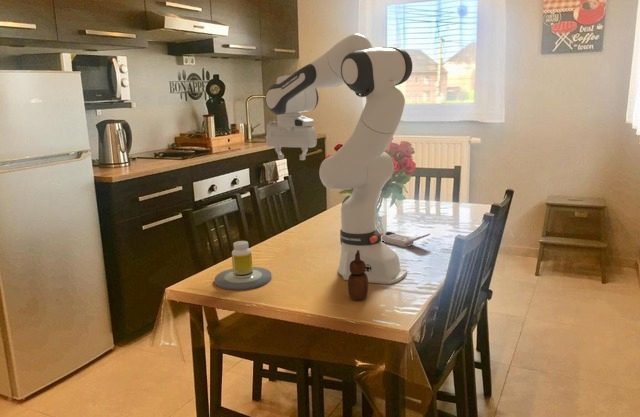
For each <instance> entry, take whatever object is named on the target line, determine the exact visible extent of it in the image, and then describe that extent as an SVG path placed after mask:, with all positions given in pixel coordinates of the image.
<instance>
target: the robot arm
mask: <svg viewBox="0 0 640 417" xmlns="http://www.w3.org/2000/svg"><path fill="white" fill-rule="evenodd" d="M412 71H413V61H412V58H411V56H410V54H409V53H408V52H407V50H404V49H403V48H399V47H389V46H388V47H386V46H382V47H373V45H372V43H371V42H370V39H368V38H367V37H366V36H364V35H362V34H360V33H353V34H350V35H348V36H346V37H345V38H343V39H341V40H340V41H338V42H336V44H333V46H332V47H331V48H329V50H327V51H326V52H325V53H323V54H322V55H321V56H319V57H317V59H314V60H313V61H312V62H310V63H307V65H305V66H303V67H301V68H300V69H298V70H297V71H295V72H293V73H287V74H282V75H280V76H278V77H277V79H276V83H272V84H271V86H269V88H268V90H267V91H266V93H265V96H264V98H265V105H266V106H267V108H268V110H270V112H272V114H274V115H276V117H277V119H276V120H277V121H275V120H274V121H272V120H270V121H269V122H268V123H267V124H266V135H265V136H266V139H265V143H266V146H267V147H271V148H274V152H275V153H276V154H277V158H278V160H284V159H285V154H284V153H283V152H282V151H281V150H282V148H300V149H301V151H302V153H301V154H299V161H305V160H307V159H306V156H307V153H308V151H309V148H310V149H312V148H315V147H316V146H317V145H318V144H317V143H318V138H317V137H318V136H317V131H316V128H315V127H314V125H315V119H313V118H309V117H307V116H305V115H302V114H303V113H307V112H312V111H315V109H316V108H317V106H318V103H319V99H320V98H319V97H320V96H319V93H318V90H317V89H321V88H333V87H334V88H335V87H339V86H342V85H346V87H347V88H349V90H351V91H353V92H354V93H355V95H356V96H357V97H359V98H366V100H365V105H364V107H363V109H362V112H361V114H360V116H359V119H358V121H357V124H356V126H355V128H354V130H353V132H352V134H351V135H350V136H349V138H348V139H347V140H346V142H345V143H344V144H343V145H341V147H339V149H338V150H337V151H335V152H334V153H333V154H331V155H330V156H328V157H326V158H325V159H323V161H322V162H321V163H320V166H319V170H318V173H319V179H320V182H321V183H322V185H323V187H325V188H326V189H328V190H334V191H336V190H337V191H346V190H351V189H353V190H352V192H351V194H350V196H349V197H348V198H347V199H346V200H345V201H344V202H343V203H342V204H341V208H340V220H341V221H340V223H341V224H340V225H341V226H340V227H341V229H340V231H339V232H340V233H339V236H340V238H339V239H340V245H341V247H340V258H339V265H338V268H337V273H338V274H339V275H340V276H342V279H343V280H344V281H348V278H349V276H350V274H351V272H350V263H351V262H352V261H353V260H355V254H356V253H357V250H359V253H360V260H362V261H364V262H365V265H366V271H365V272H364V273H365V274H366V275H367V277H368V283H371V284H373V283H374V284H383V285H385V284H386V285H390V284H395V283H397V282H399V281H401V280H403V279H404V278H405V277H406V276H407V274H408V270H407V269H408V268H406V267H403V266H401V264H400V259H399V255H398V253H397V252H396V251H394V250H393V249H391V248H390V247H389V246H388V245H387V243H385V242H382V241H381V236H382V235H383V231H381V233H380V232H379V231H378V229H377V226H376V225H377V224H376V222H377V221H376V220H377V204H378V200H379V198H380V194H381V192H382V190H383V188H384V186H385V185H386V184H387V182H388V181H389V180H390V179H392V177H393V174H394V171H395V165H394V161H393V158H392V157H391V155H390V154H388V153H387V152H386V151H387V150H388V147H389V146H390V143H391V142H392V139H393V137H394V135H395V133H396V131H397V129H398V127H399V125H400V123H401V122H400V121H401V119H402V116H403V112H404V109H405V105H406V99H405V96H404V94H403V92H402V91H401V90H400V89H398V88H397V87H396V86H399V85H401V84H403V83H405V82H406V81H408V80H409V78H410V77H411V75H412V73H413V72H412Z"/></svg>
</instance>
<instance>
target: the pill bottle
mask: <svg viewBox="0 0 640 417" xmlns="http://www.w3.org/2000/svg"><path fill="white" fill-rule="evenodd" d="M232 245H233V250H232V251H231V261H232V269H233V275H234V277H235V278H239V279H243V278H248V277H251V276H252V275H253V269H252V267H253V258H252V256H253V255H252V250H251V248H249V242H248V240H238V241H235V242H233V243H232Z"/></svg>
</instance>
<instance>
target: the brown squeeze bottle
mask: <svg viewBox="0 0 640 417" xmlns="http://www.w3.org/2000/svg"><path fill="white" fill-rule="evenodd" d="M365 271H366V265H365V262H364V261H362V260H360V253H359V250H357V253H356V254H355V260H353V261H352V262H351V263H350V272H351V274H350V276H349V278H348V280H347V292H348V295H349V296H350V298H351V299H352V300H353V301H362V300H364V299H366V298H367V295H368V292H369V282H368V277H367V275H366V274H365V273H364V272H365Z"/></svg>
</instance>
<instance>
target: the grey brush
mask: <svg viewBox="0 0 640 417" xmlns="http://www.w3.org/2000/svg"><path fill="white" fill-rule="evenodd" d="M430 235H431V233H426V234H425V235H422V236H421V235H420V236H418V237H415V238H412V237H409V236H406V235H401V234H397V233H395V232H392V231H386V234H385V235H383V237H382V239H383V240H384V241H385V242H386V243H385V242H384V243H385V244H389V245H394V246H399V247H403V248H407V247H409V246H412V244H413V245H414V242H415V241H417V240H420V239H423V238H425V237H428V236H430Z"/></svg>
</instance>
